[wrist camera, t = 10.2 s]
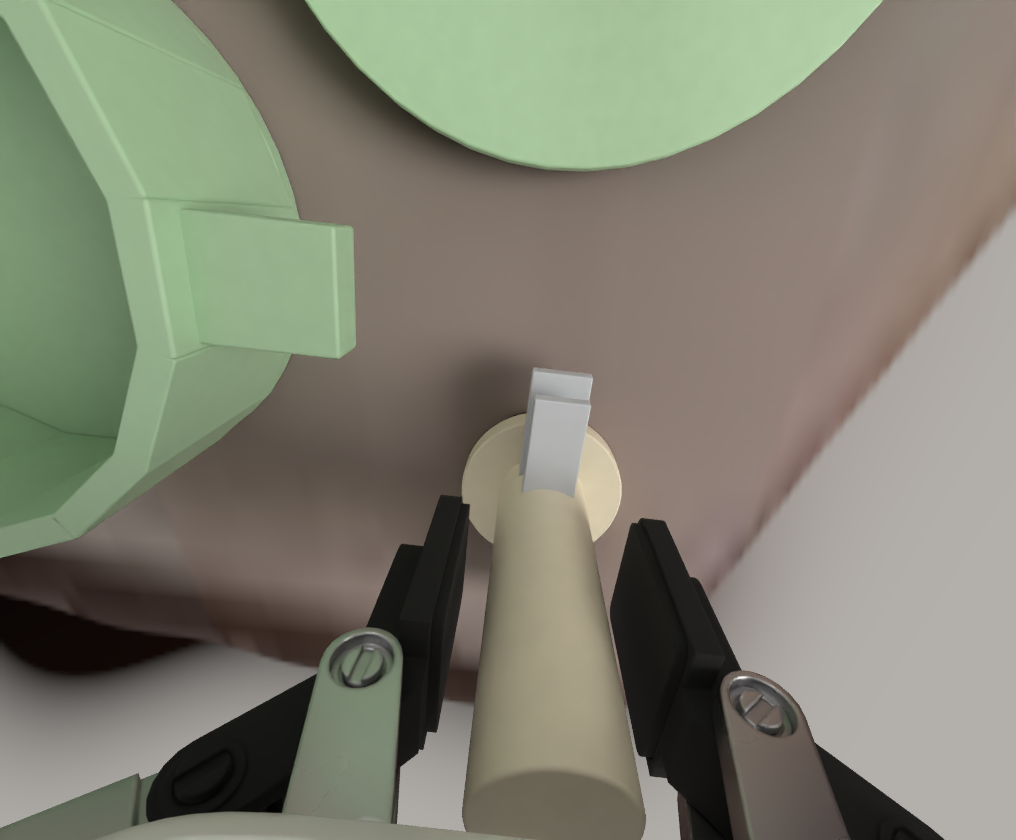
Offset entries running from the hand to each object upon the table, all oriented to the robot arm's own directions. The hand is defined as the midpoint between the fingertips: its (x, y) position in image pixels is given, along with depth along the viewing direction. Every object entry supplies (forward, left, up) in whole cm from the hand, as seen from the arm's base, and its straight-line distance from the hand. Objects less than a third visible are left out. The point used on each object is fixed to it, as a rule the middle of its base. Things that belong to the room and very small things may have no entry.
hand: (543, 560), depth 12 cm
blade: (0, 0, -4) cm, 4 cm away
